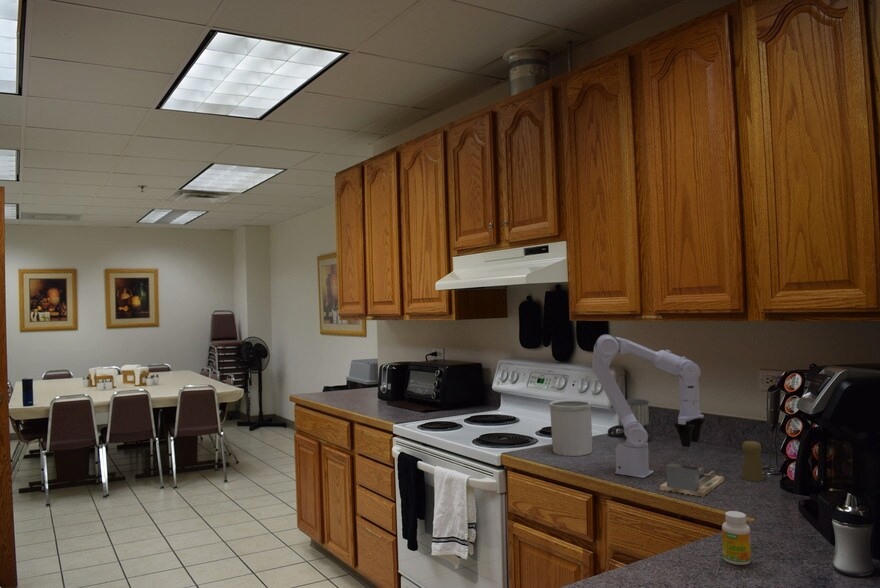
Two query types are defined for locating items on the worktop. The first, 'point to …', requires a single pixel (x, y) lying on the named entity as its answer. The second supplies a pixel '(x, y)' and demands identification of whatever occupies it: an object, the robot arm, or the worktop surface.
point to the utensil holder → (571, 427)
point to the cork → (752, 461)
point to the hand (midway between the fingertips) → (690, 444)
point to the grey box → (682, 477)
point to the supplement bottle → (736, 538)
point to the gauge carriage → (702, 473)
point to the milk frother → (640, 413)
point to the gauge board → (704, 485)
